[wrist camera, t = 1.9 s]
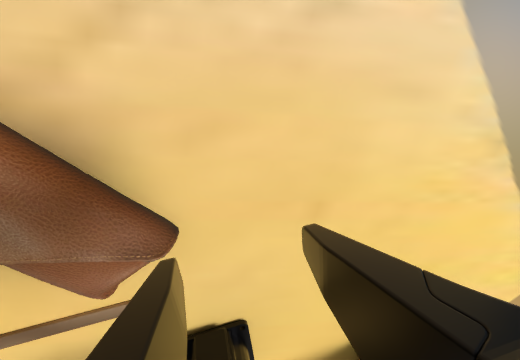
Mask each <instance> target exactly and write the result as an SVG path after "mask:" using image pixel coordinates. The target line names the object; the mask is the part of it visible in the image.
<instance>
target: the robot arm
mask: <svg viewBox="0 0 520 360" xmlns="http://www.w3.org/2000/svg"><path fill="white" fill-rule="evenodd" d="M302 244H303V252H304V255H305V257H306V259H307V262H308V264H309V266H310V268H311V271H312V273H313V275H314V277H315V279H316V282H317V284H318V286H319V288H320V291H321V293H322V295H323V297H324V299H325V301H326V302H327V304H328V306H329V308H330V309H331V311H332V313H333V314H334V316H335V318H336V319H337V321H338V323H339V325H340V326H341V328H342V330H343V331H344V333H345V335H346V336H347V338H348V340H349V341H350V343H351V345H352V347H353V348H354V350H355V352H356V353H357V355H358V357H359V358H360V360H520V307H519V306H517V305H514V304H511V303H508V302H505V301H503V300H500V299H497V298H494V297H491V296H489V295H486V294H483V293H481V292H478V291H475V290H472V289H470V288H467V287H464V286H462V285H459V284H457V283H454V282H452V281H449V280H447V279H445V278H442V277H440V276H437V275H435V274H433V273H430V272H428V271H426V270H423V271H422V269H421V268H418V267H416V266H414V265H411V264H409V263H407V262H404V261H402V260H400V259H397V258H395V257H392V256H390V255H388V254H385V253H383V252H381V251H378V250H376V249H374V248H371V247H369V246H367V245H364V244H362V243H360V242H357V241H355V240H353V239H350V238H348V237H346V236H343V235H341V234H338V233H336V232H334V231H331V230H329V229H327V228H324V227H322V226H320V225H317V224H310V225H306V226H303V228H302ZM86 360H254V356H253V350H252V345H251V339H250V334H249V328H248V324H247V321H245V320H241V321H238V322H234V323H231V324H227V325H224V326H221V327H217V328H214V329H211V330H207V331H204V332H201V333H197V334H194V335H191V336H187V325H186V312H185V299H184V286H183V280H182V277H181V273H180V270H179V267H178V263H177V260H176V259H175V258H170V259H166V260H162V261H160V262H159V263H158V265H157V266H156V267H155V269H154V270H153V271H152V273H151V274H150V275H149V277H148V278H147V279H146V281H145V282H144V283H143V285H142V286H141V287H140V289H139V290H138V291H137V293H136V294H135V295H134V296H133V298H132V299H131V300H130V302H129V303H128V304H127V306H126V307H125V308H124V310H123V311H122V312H121V314H120V315H119V316H118V318H117V319H116V320H115V322H114V323H113V324H112V326H111V327H110V328H109V330H108V331H107V332H106V333H105V335H104V336H103V337H102V339H101V340H100V341H99V343H98V344H97V345H96V347H95V348H94V349H93V351H92V352H91V353H90V355H89V356H88V357H87V359H86Z"/></svg>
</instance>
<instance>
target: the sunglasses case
mask: <svg viewBox="0 0 520 360" xmlns="http://www.w3.org/2000/svg"><path fill="white" fill-rule="evenodd" d="M178 234H179V229H178V227H176V226H175V225H174V224H173V223H171V222H170V221H168V220H167V219H165V218H164V217H162V216H160V215H158V214H156V213H155V212H153V211H152V210H150V209H148V208H146V207H144V206H143V205H141V204H139V203H137V202H135V201H133V200H131V199H130V198H128V197H126V196H124V195H122V194H121V193H119V192H117V191H116V190H114V189H113V188H111V187H109V186H107V185H106V184H104V183H102V182H100V181H99V180H97V179H95V178H93V177H92V176H90V175H88V174H86V173H84V172H82V171H81V170H79V169H78V168H76V167H75V166H73V165H71V164H69V163H68V162H66V161H64V160H63V159H61V158H59V157H58V156H56V155H54V154H53V153H51V152H50V151H48V150H46V149H44V148H43V147H41V146H39V145H37V144H36V143H34V142H32V141H30V140H29V139H27V138H25V137H24V136H22V135H20V134H19V133H17V132H15V131H14V130H12V129H10V128H9V127H7V126H5V125H4V124H2V123H1V122H0V265H5V266H7V267H10V268H12V269H14V270H17V271H19V272H21V273H24V274H26V275H29V276H32V277H34V278H36V279H39V280H41V281H44V282H47V283H50V284H51V285H55V286H57V287H60V288H64V289H66V290H69V291H71V292H74V293H77V294H79V295H83V296H86V297H90V298H95V299H106V298H108V297H109V296H111V295H112V294H113V293H114V292H115V290H116V289H117V287H118V285H119V284H120V283H121V282H122V281H124V280H125V279H127V278H128V277H130V276H131V275H132V274H134V273H135V272H137V271H138V270H139V269H141V268H142V267H144V266H146V265H147V264H149V263H150V262H152V261H155V260H158V259H160V258H163V257H164V256H165V255H166V254H167V253H168V252H169V251H170V250H171V248H172V247H173V245H174V243H175V242H176V240H177V236H178Z"/></svg>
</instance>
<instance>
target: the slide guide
mask: <svg viewBox="0 0 520 360" xmlns="http://www.w3.org/2000/svg"><path fill="white" fill-rule="evenodd" d="M129 302H130V301H126V302H123V303H119V304H115V305H111V306H108V307H104V308H100V309H96V310H92V311H89V312H85V313H81V314H77V315H74V316H70V317H66V318H62V319H58V320H55V321H51V322H47V323H43V324H40V325H36V326H32V327H28V328H24V329H21V330H17V331H13V332H9V333H5V334H2V335H0V349H3V348H7V347H10V346H14V345H18V344H21V343H25V342H29V341H32V340H36V339H40V338H43V337H47V336H51V335H54V334H58V333H62V332H65V331H69V330H73V329H76V328H80V327H84V326H87V325H91V324H95V323H98V322H102V321H106V320H109V319H113V318H117V317H118V316H119V315H120V314H121V312H122V311H123V310H124V308H125V307H126V306H127V304H128V303H129Z"/></svg>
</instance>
